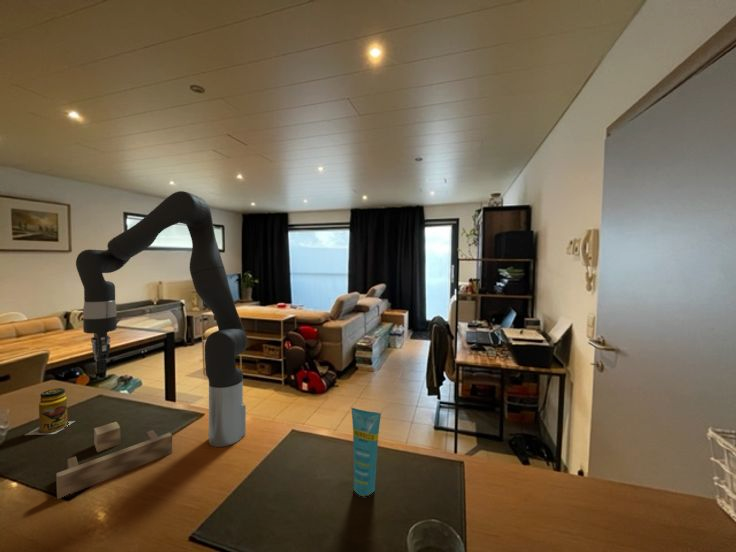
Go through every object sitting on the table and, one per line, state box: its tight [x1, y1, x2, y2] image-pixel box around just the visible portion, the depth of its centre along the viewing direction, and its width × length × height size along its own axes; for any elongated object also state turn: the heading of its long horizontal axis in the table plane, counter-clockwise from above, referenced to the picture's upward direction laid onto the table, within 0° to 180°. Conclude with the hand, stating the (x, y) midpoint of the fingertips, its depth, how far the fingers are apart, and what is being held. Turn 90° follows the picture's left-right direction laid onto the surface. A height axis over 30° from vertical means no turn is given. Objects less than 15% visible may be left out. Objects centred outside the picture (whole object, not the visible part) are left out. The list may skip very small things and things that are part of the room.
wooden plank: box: [56, 429, 173, 500], centre depth 77 cm, size 22×9×5 cm, turn 140°
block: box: [93, 421, 122, 453], centre depth 85 cm, size 5×5×5 cm
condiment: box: [24, 387, 76, 436], centre depth 93 cm, size 7×8×12 cm
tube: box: [351, 407, 382, 496], centre depth 69 cm, size 7×5×19 cm, turn 72°
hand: (101, 371), depth 91 cm, fingers closed
